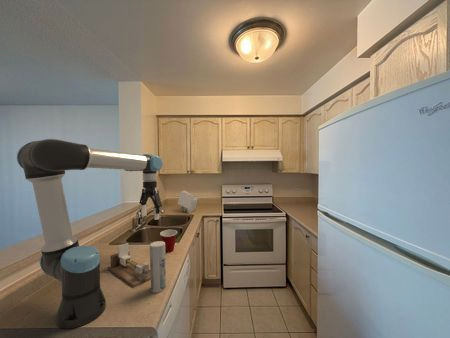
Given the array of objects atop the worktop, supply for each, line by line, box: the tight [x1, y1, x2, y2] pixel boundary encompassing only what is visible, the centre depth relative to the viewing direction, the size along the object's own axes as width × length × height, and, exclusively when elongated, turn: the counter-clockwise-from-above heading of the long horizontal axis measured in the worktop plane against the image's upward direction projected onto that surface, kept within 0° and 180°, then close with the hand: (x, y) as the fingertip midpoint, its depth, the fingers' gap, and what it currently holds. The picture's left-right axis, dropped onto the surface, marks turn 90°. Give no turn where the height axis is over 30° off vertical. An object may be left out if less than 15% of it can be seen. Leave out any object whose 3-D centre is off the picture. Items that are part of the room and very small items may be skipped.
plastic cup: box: [159, 229, 178, 253], centre depth 134 cm, size 11×11×12 cm
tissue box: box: [177, 189, 199, 214], centre depth 247 cm, size 20×16×25 cm
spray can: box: [149, 240, 167, 294], centre depth 92 cm, size 6×6×20 cm
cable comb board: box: [107, 253, 151, 288], centre depth 106 cm, size 12×28×7 cm, turn 52°
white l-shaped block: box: [117, 242, 132, 266], centre depth 110 cm, size 5×5×10 cm
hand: (150, 217), depth 121 cm, fingers open, 13 cm apart
